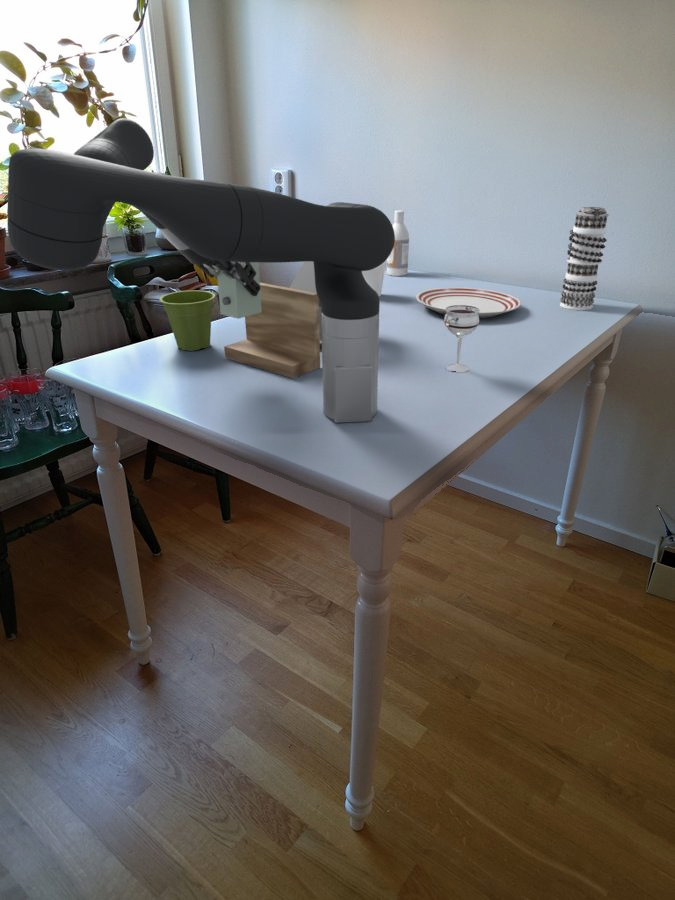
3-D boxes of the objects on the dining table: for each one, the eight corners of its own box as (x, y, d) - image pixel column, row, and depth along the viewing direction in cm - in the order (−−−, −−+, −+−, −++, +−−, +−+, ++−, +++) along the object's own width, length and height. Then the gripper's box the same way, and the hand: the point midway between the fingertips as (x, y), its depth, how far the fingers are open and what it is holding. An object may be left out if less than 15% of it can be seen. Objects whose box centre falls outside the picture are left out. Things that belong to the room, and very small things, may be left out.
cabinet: (235, 319, 113) (230, 264, 108) (217, 315, 116) (212, 260, 111) (261, 312, 118) (258, 258, 113) (243, 308, 120) (240, 256, 116)
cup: (349, 293, 181) (349, 251, 175) (378, 291, 183) (379, 250, 178) (359, 300, 173) (360, 257, 168) (389, 298, 175) (390, 255, 170)
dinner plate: (506, 297, 176) (507, 285, 175) (531, 323, 152) (533, 310, 150) (411, 297, 177) (411, 286, 175) (421, 324, 152) (421, 311, 151)
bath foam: (382, 273, 206) (384, 210, 197) (400, 271, 209) (402, 209, 199) (393, 277, 200) (395, 212, 191) (411, 275, 203) (414, 211, 194)
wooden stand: (293, 378, 119) (289, 301, 112) (225, 357, 130) (218, 286, 123) (320, 367, 124) (318, 293, 117) (252, 348, 136) (247, 280, 129)
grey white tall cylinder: (554, 301, 170) (569, 205, 158) (588, 302, 169) (606, 205, 158) (562, 310, 162) (578, 209, 150) (598, 310, 161) (617, 209, 150)
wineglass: (471, 362, 126) (477, 304, 121) (477, 374, 120) (483, 313, 114) (438, 362, 126) (442, 304, 121) (442, 374, 120) (447, 314, 115)
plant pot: (164, 341, 141) (157, 292, 135) (215, 336, 144) (210, 288, 139) (169, 357, 131) (161, 305, 125) (224, 351, 134) (219, 300, 129)
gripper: (153, 244, 106) (213, 301, 120) (206, 253, 98) (264, 312, 112) (174, 209, 107) (231, 269, 121) (228, 215, 99) (283, 278, 113)
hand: (246, 289), depth 116 cm, fingers closed on cabinet, 5 cm apart
